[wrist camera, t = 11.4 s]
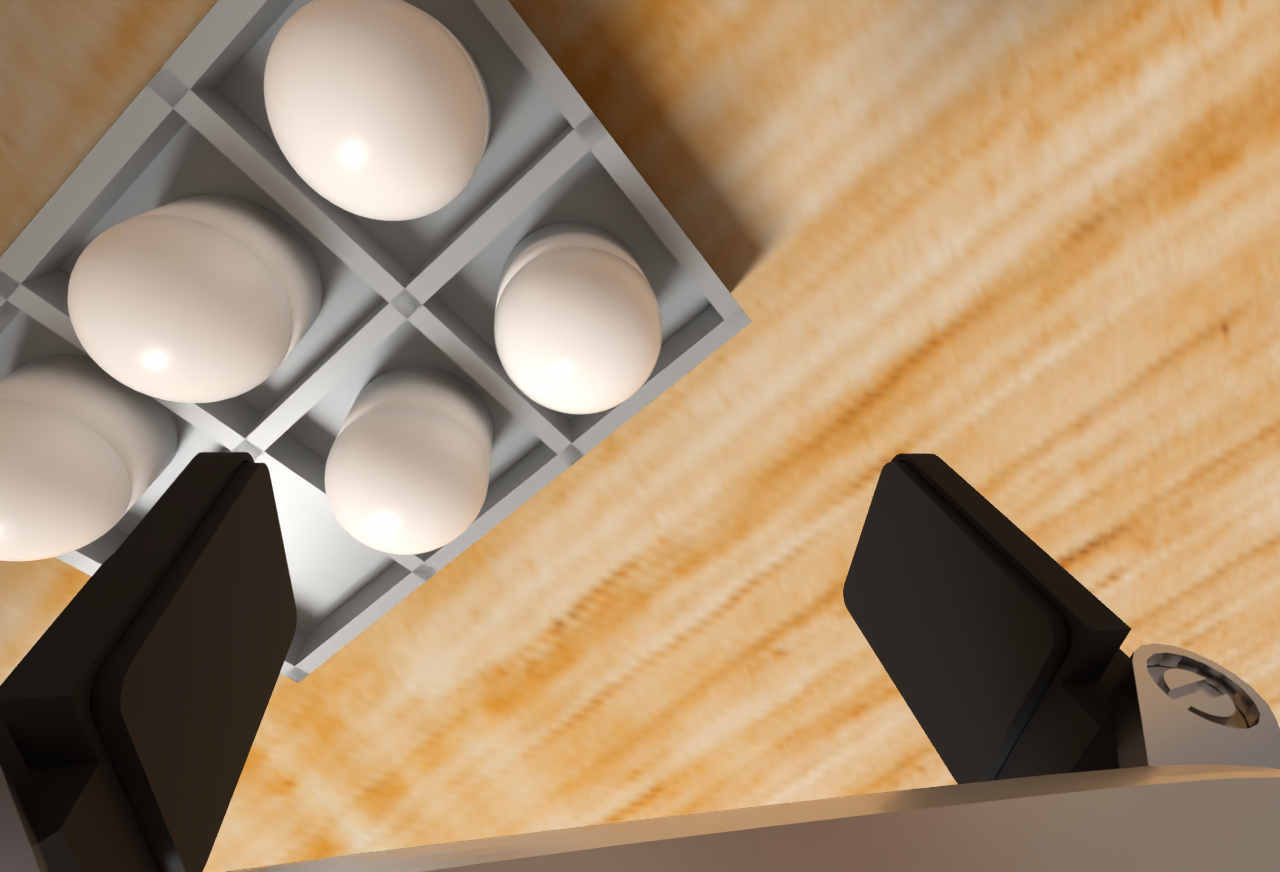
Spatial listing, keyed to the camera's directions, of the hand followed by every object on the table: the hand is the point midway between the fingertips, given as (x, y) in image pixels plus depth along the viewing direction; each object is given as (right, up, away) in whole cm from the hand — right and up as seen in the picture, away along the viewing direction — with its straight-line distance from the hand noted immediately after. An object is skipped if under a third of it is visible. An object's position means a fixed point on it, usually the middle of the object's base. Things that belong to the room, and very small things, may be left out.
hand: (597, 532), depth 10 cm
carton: (-9, +4, +10) cm, 14 cm away
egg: (-1, +6, +9) cm, 11 cm away
